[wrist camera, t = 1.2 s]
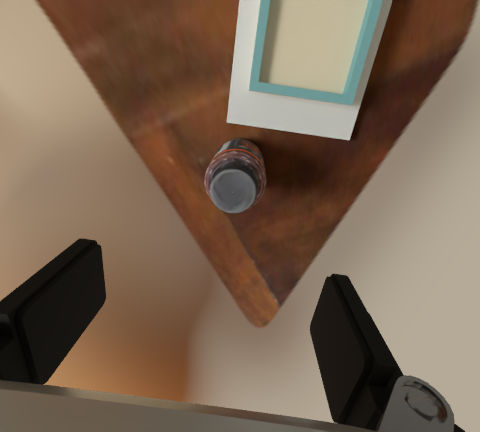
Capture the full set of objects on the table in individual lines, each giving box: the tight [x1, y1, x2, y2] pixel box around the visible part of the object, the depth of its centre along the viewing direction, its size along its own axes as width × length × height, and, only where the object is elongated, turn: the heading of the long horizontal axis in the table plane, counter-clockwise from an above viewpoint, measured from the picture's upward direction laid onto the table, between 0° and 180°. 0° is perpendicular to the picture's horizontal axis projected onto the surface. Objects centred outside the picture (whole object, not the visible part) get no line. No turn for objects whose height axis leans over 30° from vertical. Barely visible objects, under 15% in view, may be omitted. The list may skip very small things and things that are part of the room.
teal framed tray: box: [227, 0, 393, 140], centre depth 24 cm, size 17×14×4 cm
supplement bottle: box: [204, 139, 267, 213], centre depth 27 cm, size 6×6×11 cm
